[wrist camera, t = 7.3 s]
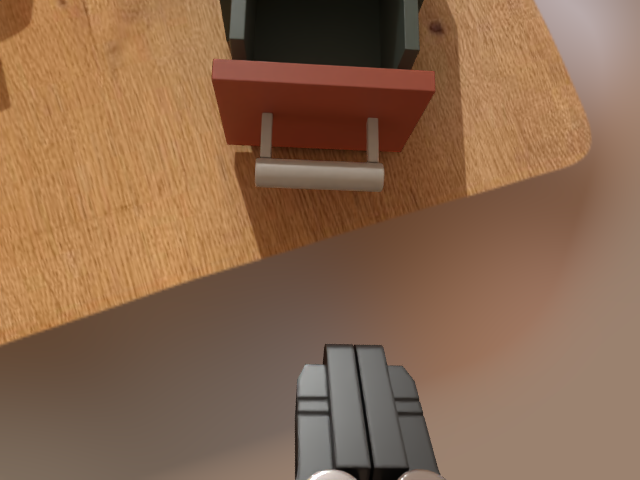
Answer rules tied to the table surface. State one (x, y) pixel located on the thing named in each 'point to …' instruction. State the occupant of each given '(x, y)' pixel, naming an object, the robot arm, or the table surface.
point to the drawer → (322, 86)
